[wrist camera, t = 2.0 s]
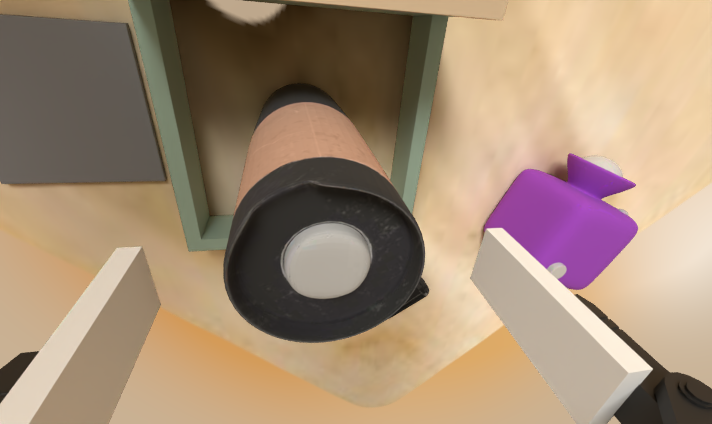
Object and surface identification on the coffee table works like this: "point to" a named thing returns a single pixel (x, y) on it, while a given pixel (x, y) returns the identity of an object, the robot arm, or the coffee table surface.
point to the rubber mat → (73, 104)
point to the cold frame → (425, 3)
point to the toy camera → (568, 218)
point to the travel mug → (317, 226)
